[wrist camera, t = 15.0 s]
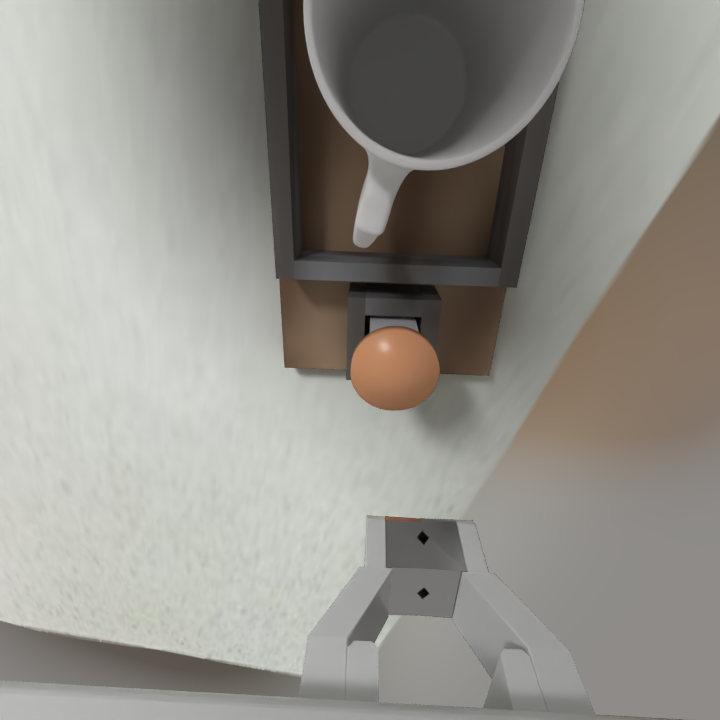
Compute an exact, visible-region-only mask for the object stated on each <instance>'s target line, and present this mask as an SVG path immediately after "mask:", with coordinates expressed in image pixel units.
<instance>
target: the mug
mask: <svg viewBox="0 0 720 720" xmlns="http://www.w3.org/2000/svg"><path fill="white" fill-rule="evenodd" d="M584 2H585V0H303V15H304V30H305V38H306V44H307V50H308V55H309V59H310V63H311V66H312V70H313V73H314V76H315V79H316V81H317V84H318V87H319V89H320V91H321V93H322V95H323V98H324V100H325V101H326V103H327V105H328V107H329V108H330V110H331V112H332V113H333V115H334V116H335V118H336V119H337V121H338V122H339V123H340V125H341V126H342V127H343V128H344V129H345V131H346V132H347V133H348V134H349V135H350V136H351V137H352V138H353V139H354V140H355V141H356V142H357V143H359V144H360V145H361V146H362V147H363V148H364V149H365V150H366V152H367V155H368V161H369V165H368V172H367V175H366V178H365V181H364V184H363V188H362V191H361V195H360V199H359V204H358V209H357V215H356V219H355V225H354V232H353V242H354V244H355V245H356V246H358V247H361V248H367V247H369V246H370V245H371V244H372V243H373V242H374V241H375V240H376V238H377V237H378V235H381V234H382V233H383V232H384V230H385V227H386V224H387V221H388V218H389V215H390V211H391V208H392V205H393V202H394V199H395V196H396V194H397V192H398V190H399V187H400V185H401V184H402V182H403V180H404V178H405V177H406V176H407V175H408V173H409V172H411V171H413V170H414V169H415V170H444V169H450V168H455V167H459V166H462V165H466V164H469V163H471V162H474V161H476V160H479V159H481V158H483V157H485V156H487V155H488V154H490V153H492V152H494V151H495V150H497V149H498V148H500V147H501V146H503V145H504V144H506V143H507V142H508V141H510V140H511V139H512V138H513V137H514V136H516V135H517V134H518V133H519V132H520V131H521V130H522V129H523V128H524V127H525V126H526V125H527V124H528V123H529V122H530V121H531V120H532V119H533V117H534V116H535V115H536V114H537V113H538V111H539V110H540V109H541V108H542V106H543V105H544V104H545V102H546V101H547V99H548V98H549V96H550V95H551V93H552V92H553V90H554V88H555V86H556V85H557V83H558V81H559V79H560V77H561V75H562V73H563V71H564V69H565V67H566V65H567V63H568V60H569V58H570V55H571V53H572V50H573V47H574V44H575V41H576V38H577V35H578V31H579V27H580V23H581V19H582V13H583V8H584Z"/></svg>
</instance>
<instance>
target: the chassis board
mask: <svg viewBox="0 0 720 720" xmlns="http://www.w3.org/2000/svg"><path fill="white" fill-rule="evenodd" d="M259 15H260V30H261V46H262V62H263V78H264V94H265V110H266V126H267V141H268V157H269V173H270V189H271V205H272V221H273V236H274V252H275V268H276V279H279V281H280V297H281V314H282V331H283V348H284V365H285V367H286V368H311V369H336V370H346V380H351V372H350V371H351V361H352V356H353V353H354V350H355V348H356V347H357V345H358V344H359V342H360V341H361V340H362V339H363V338H364V337H365V336H366V335H368V334H369V333H370V315H375V316H402V317H415V319H416V323H417V327H418V331H419V332H420V333H421V334H423V335H424V336H425V337H426V338H427V339H428V340H429V341H430V343H431V344H432V346H433V347H434V350H435V352H436V355H437V358H438V361H439V367H440V374H461V375H486V376H489V374H490V369H491V364H492V358H493V353H494V348H495V343H496V338H497V333H498V328H499V323H500V317H501V312H502V307H503V302H504V297H505V292H506V287H517V283H518V278H519V273H520V268H521V263H522V259H523V254H524V249H525V244H526V239H527V234H528V229H529V225H530V220H531V215H532V210H533V205H534V200H535V196H536V191H537V186H538V181H539V176H540V171H541V166H542V162H543V157H544V152H545V147H546V142H547V137H548V133H549V128H550V123H551V118H552V113H553V108H554V103H555V99H556V94H557V89H558V84H559V81H558V83H557V85H556V86H555V88H554V90H553V92H552V93H551V95H550V96H549V98H548V99H547V101H546V102H545V104H544V105H543V106H542V108H541V109H540V110H539V111H538V113H537V114H536V115H535V116H534V117H533V119H532V120H531V121H530V122H529V123H528V124H527V125H526V126H525V127H524V128H523V129H522V130H521V131H520V132H519V133H518V134H517V135H516V136H514V137H513V138H512V139H511V140H510V141H508V142H507V143H506V144H504V145H503V146H501V147H500V148H498V149H497V150H495V151H494V152H492V153H490V154H488V155H487V156H485V157H483V158H481V159H479V160H476V161H474V162H471V163H469V164H466V165H462V166H459V167H455V168H450V169H444V170H415V169H414V170H413V171H411V172H409V173H408V175H407V176H406V177H405V178H404V180H403V182H402V184H401V185H400V187H399V190H398V192H397V194H396V196H395V199H394V202H393V205H392V208H391V211H390V215H389V218H388V221H387V224H386V227H385V230H384V232H383V233H382V234H381V235H378V237H377V238H376V240H375V241H374V242H373V243H372V244H371V245H370V246H369V247H367V248H361V247H358V246H356V245H355V244H354V242H353V232H354V225H355V219H356V215H357V209H358V204H359V199H360V195H361V191H362V188H363V184H364V181H365V178H366V175H367V172H368V165H369V161H368V155H367V152H366V150H365V149H364V148H363V147H362V146H361V145H360V144H359V143H357V142H356V141H355V140H354V139H353V138H352V137H351V136H350V135H349V134H348V133H347V132H346V131H345V129H344V128H343V127H342V126H341V125H340V123H339V122H338V121H337V119H336V118H335V116H334V115H333V113H332V112H331V110H330V108H329V107H328V105H327V103H326V101H325V100H324V98H323V95H322V93H321V91H320V89H319V87H318V84H317V81H316V79H315V76H314V73H313V70H312V66H311V63H310V59H309V55H308V50H307V44H306V38H305V30H304V15H303V0H259Z"/></svg>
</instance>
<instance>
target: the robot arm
mask: <svg viewBox="0 0 720 720" xmlns="http://www.w3.org/2000/svg"><path fill="white" fill-rule="evenodd" d="M388 615H420V616H433V617H444V618H452V620H453V622H454V623H455V625H456V626H457V628H458V629H459V631H460V632H461V634H462V635H463V637H464V638H465V640H466V641H467V643H468V644H469V646H470V647H471V649H472V650H473V652H474V653H475V655H476V656H477V658H478V659H479V661H480V662H481V664H482V665H483V667H484V668H485V670H486V671H487V673H488V674H489V676H490V677H491V679H492V682H491V686H490V689H489V692H488V695H487V698H486V701H485V704H484V707H483V708H470V707H453V706H434V705H417V704H399V703H380V702H379V685H378V684H379V680H378V647H377V646H376V645H375V644H374V643H375V641H376V639H377V637H378V635H379V633H380V631H381V630H382V628H383V626H384V624H385V622H386V620H387V618H388ZM0 720H681V719H663V718H646V717H628V716H610V715H595V713H594V710H593V708H592V705H591V703H590V701H589V698H588V695H587V693H586V690H585V688H584V685H583V683H582V680H581V678H580V676H579V673H578V671H577V668H576V665H575V663H574V660H573V658H572V655H571V653H570V651H569V650H568V649H567V648H566V647H565V645H564V644H563V643H562V642H561V641H560V640H559V639H558V638H557V637H556V636H555V635H554V634H553V633H552V632H551V631H550V630H549V629H548V628H547V627H546V626H545V625H544V624H543V623H542V622H541V621H540V620H539V619H538V618H537V617H536V616H535V615H534V614H533V613H532V612H531V610H530V609H528V608H527V606H526V605H525V604H524V603H523V602H522V601H521V600H520V599H519V598H518V597H517V596H516V595H515V594H514V593H513V592H512V591H511V590H510V589H509V588H508V587H507V586H506V585H505V584H504V583H503V582H502V581H501V579H499V578H498V577H497V575H496V574H494V573H489V571H488V567H487V564H486V560H485V556H484V553H483V550H482V546H481V542H480V539H479V535H478V532H477V528H476V525H475V523H474V522H473V520H453V519H425V518H419V519H416V518H403V517H389V516H385V517H384V516H371V515H367V519H366V539H365V560H364V567H359V569H358V570H357V571H356V573H355V574H354V575H353V577H352V578H351V579H350V581H349V582H348V583H347V585H346V586H345V587H344V589H343V590H342V591H341V593H340V594H339V595H338V597H337V598H336V599H335V601H334V602H333V603H332V605H331V606H330V607H329V609H328V610H327V611H326V613H325V614H324V615H323V617H322V618H321V619H320V621H319V622H318V623H317V625H316V626H315V627H314V629H313V630H312V631H311V633H310V634H309V635H308V639H307V646H306V653H305V659H304V666H303V673H302V680H301V686H300V693H299V698H292V697H274V696H257V695H239V694H221V693H220V694H219V693H204V692H203V693H202V692H186V691H169V690H151V689H134V688H116V687H99V686H81V685H65V684H47V683H30V682H12V681H0Z"/></svg>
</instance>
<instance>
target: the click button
mask: <svg viewBox="0 0 720 720" xmlns="http://www.w3.org/2000/svg"><path fill="white" fill-rule="evenodd" d="M350 372H351V380H352V384H353V386H354V388H355V390H356V392H357V393H358V394H359V396H360V397H361V398H362V399H363V400H365V401H366V402H367V403H369V404H371V405H372V406H375V407H377V408H380V409H384V410H392V411H394V410H404V409H408V408H411V407H414V406H416V405H418V404H420V403H421V402H423V401H424V400H425V399H426V398H428V397H429V395H430V394H431V393H432V392H433V390H434V389H435V387H436V385H437V382H438V379H439V374H440V367H439V361H438V358H437V355H436V352H435V350H434V347H433V346H432V344H431V343H430V341H429V340H428V339H427V338H426V337H425V336H424V335H423V334H421V333H420V332H419V331H418V327H417V323H416V319H415V317H402V316H375V315H370V333H369V334H368V335H366V336H365V337H364V338H363V339H362V340H361V341H360V342H359V344H358V345H357V347H356V348H355V350H354V353H353V356H352V361H351V371H350Z"/></svg>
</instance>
